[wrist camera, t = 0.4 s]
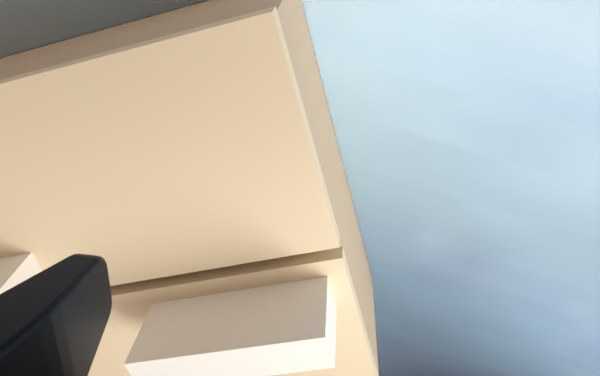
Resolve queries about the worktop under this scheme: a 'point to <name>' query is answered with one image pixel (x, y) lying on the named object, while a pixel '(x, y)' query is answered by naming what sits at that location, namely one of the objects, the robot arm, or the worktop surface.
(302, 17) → the carton
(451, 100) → the worktop surface
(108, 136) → the outer lid
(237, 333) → the inner lid
